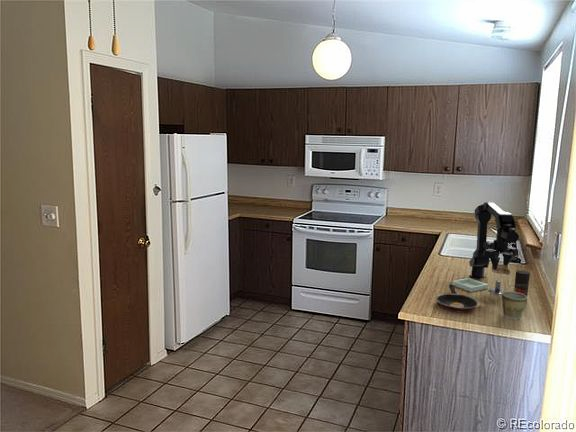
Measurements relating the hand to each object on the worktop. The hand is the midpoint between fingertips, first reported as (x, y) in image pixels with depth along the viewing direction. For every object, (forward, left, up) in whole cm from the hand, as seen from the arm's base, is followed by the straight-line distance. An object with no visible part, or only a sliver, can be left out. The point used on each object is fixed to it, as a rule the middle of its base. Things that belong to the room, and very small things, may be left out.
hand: (499, 268), depth 237 cm
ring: (0, 0, -2) cm, 2 cm away
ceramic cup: (+20, +24, -13) cm, 34 cm away
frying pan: (+30, -1, -13) cm, 32 cm away
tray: (+6, -12, -12) cm, 18 cm away
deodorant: (+2, +14, -13) cm, 19 cm away
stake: (0, 0, -12) cm, 13 cm away
